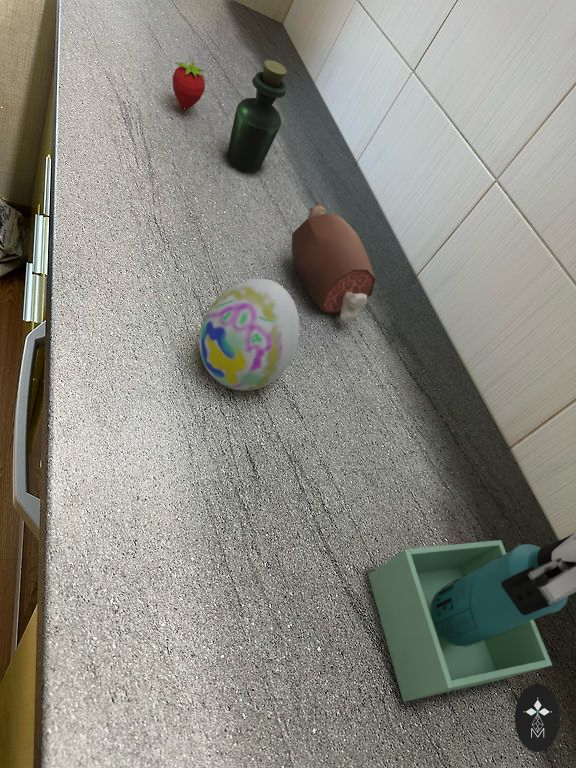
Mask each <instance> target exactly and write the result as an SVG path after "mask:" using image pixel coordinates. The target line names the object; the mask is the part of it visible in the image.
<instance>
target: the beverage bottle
mask: <svg viewBox="0 0 576 768" xmlns="http://www.w3.org/2000/svg"><path fill="white" fill-rule="evenodd" d="M564 541H565V540H562V539H558V540H555V541H554V542H550V543H547V544H545V545H543V546H541V547H540V546H538V545H534V544H531V543H530V544H529V543H524V544H520V545H517V546H515V547H514V548H513V549H512V550H510V551H508V552H506V554H504V555H503V556H501V555H500V557H498V559H495V560H494V559H493V561H492V562H488V564H486V565H484V566H483V567H482V566H481V568H479V569H477V570H475V571H473V572H472V573H470V574H468V575H465V576H464V577H463V578H460V579H458V580H457V579H456V582H455V580H454V581H453V582H454V583H453V582H451V583H452V584H450V583H449V584H450V585H449V584H448V586H447V585H445V588H444V587H443V588H442V589H441V590H440V591H438V592H437V593H435V594H436V595H434V598H433V600H432V603H431V609H430V610H431V618H432V622H433V624H434V626H435V628H436V630H437V631H438V633H439V634H440V635H441V637H442V638H443V639H445V640H446V641H447V642H449V643H451V644H453V645H456V646H466V647H465V648H467V646H470V645H471V646H473V644H475V643H478V642H480V641H482V640H484V642H485V641H487V640H485V639H487V638H489V639H490V637H492V636H494V637H495V635H497V634H499V635H501V634H500V633H502V632H504V633H505V631H507V630H509V631H510V629H512V628H514V627H516V626H519V625H521V624H524V623H526V622H529V621H531V620H534V621H535V620H536V619H539V618H542V617H543V616H546V615H549V614H554V613H557V612H559V611H560V610H561V609H562V608H564V607H565V605H566V604H567V601H568V598H569V596H567V597H565V598H563V599H561V600H559V601H558V602H556V603H555V604H553V605H551V606H548V607H545V608H543V609H540V610H538V611H535V612H533V613H530V614H528V615H522V614H521V613H520V612H519V610H518V609H517V607H516V606H515V605H514V603H513V602H512V600H511V599H510V597H509V596H508V594H507V593H506V592H505V590H504V589H503V587H502V585H501V582H502V581H504V580H505V579H507V578H509V577H511V576H513V575H515V574H517V573H519V572H521V571H523V570H525V569H527V568H529V567H531V566H533V567H534V568H535V569H536V568H538V567H540V566H541V565H543V564H545V563H547V562H548V561H550V560H552V552H553V550H555V549H556V548H557V547H558V546H559V545H561V544H562V543H563V542H564ZM568 563H569V565H570V566H571V567H572V566H573V565H575V564H576V563H575V562H568ZM560 573H562V572H561V571H560V570H559V568H558V567H555V568H554V569H552V570H550V571H548V572H546V573H545V574H546V575H547V577H548V578H549V579H551V578H554V577H555V576H557V575H559V574H560ZM446 586H447V587H446ZM514 629H515V628H514ZM511 631H512V630H511ZM491 639H492V638H491ZM481 643H482V642H481ZM478 644H479V643H478ZM471 646H470V647H471Z"/></svg>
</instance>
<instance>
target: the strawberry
mask: <svg viewBox="0 0 576 768" xmlns="http://www.w3.org/2000/svg"><path fill="white" fill-rule="evenodd" d="M189 58H190V60H191V61H192V62H191V63H189V65H188V64H187V63H183V62H181V61H180V62H175V65H178V67H177V68H175V70H174V72H173V74H172V77H171V78H172V90H173V93H174V95H175V98H176V100H177V103H178V105H179V107H180V110H182V111H183V112H187V111H188V110H189V109H190V108H192V107H194V106H195V105H196V104H197V103H198V102H199V101H200V100H201V98H202V97H203V95H204V93H205V90H206V80H205V78H204V77H205V76H204V75H203V74H202V73H201V72H206V70H204V69H202V68H200V67H197V66H195V62H194V60H193V58H192V56H189ZM184 108H185V109H184Z"/></svg>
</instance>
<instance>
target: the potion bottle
mask: <svg viewBox="0 0 576 768" xmlns="http://www.w3.org/2000/svg"><path fill="white" fill-rule="evenodd" d="M287 72H288V71H287V69H286V67H285V66H284V65H282V64H281V63H279V62H277V61H275V60H271V59H269V60H267V59H266V60H265V61H264V63H263V70H262V71H258V72H257V73H256V74H255V75H254V76H253V78H252V80H251V83H252V86H253V87H254V88H255V89H256V91H255V93H256V94H255V97H246V98H243V99H242V100H241V101H240V102H238V104H237V106H236V108H235V114H234V119H233V123H232V128H231V133H230V137H229V143H228V147H227V148H228V149H227V153H226V158H227V162H228V163H229V164H230V166H231V167H233V168H235V169H236V170H237V171H239V172H242V173H247V174H253V173H255V174H256V173H257V172H258V171H260V170H261V168H262V166H263V164H264V161H265V160H266V157H267V155H268V153H269V151H270V149H271V147H272V145H273V143H274V141H275V139H276V136H277V135H278V132H279V131H280V129H281V126H282V116H281V114H280V112H279V110H277V108H276V106H274V103H275V102H276V100H277V99H282V98H283V97H285V96H286V92H287V86H286V83H285V82H284V81H283V79H284V78H285V76H286V74H287Z"/></svg>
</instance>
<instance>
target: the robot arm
mask: <svg viewBox="0 0 576 768" xmlns="http://www.w3.org/2000/svg"><path fill="white" fill-rule="evenodd" d="M561 540H565V541H564V542H563V543H562V544H561V545H559V546H558V547H557V548H556V549H555V550H553V552H552V560H550V561H548V562H547V563H545V564H543V565H541V566H540V567H538V568H536V569H535V568H534V567H533V566H531V567H529V568H527V569H525V570H523V571H521V572H519V573H517V574H515V575H513V576H511V577H509V578H507V579H505V580H504V581H502V582H501V585H502V587H503V589H504V590H505V592H506V593H507V594H508V596H509V597H510V599H511V600H512V602H513V603H514V605H515V606H516V607H517V609H518V610H519V612H520V613H521V614H522V615H528V614H530V613H533V612H535V611H538V610H540V609H543V608H545V607H548V606H551V605H553V604H555V603H556V602H558V601H559V600H561V599H563V598H565V597H567V596H568V597H570V596H571V595H573V594H575V593H576V564H575V565H573V566H572V567H571V566H570V565H569V563H568V562H575V563H576V531H575V532H574V533H573V532H572V533H571V534H570V535H568V536H565V537H564V538H561ZM555 567H558V568H559V570H560V571H561V572H562V573H560V574H559V575H557V576H555V577H554V578H551V579H549V578H548V577H547V575H546V574H545V573H546V572H548V571H550V570H552V569H554V568H555Z"/></svg>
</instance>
